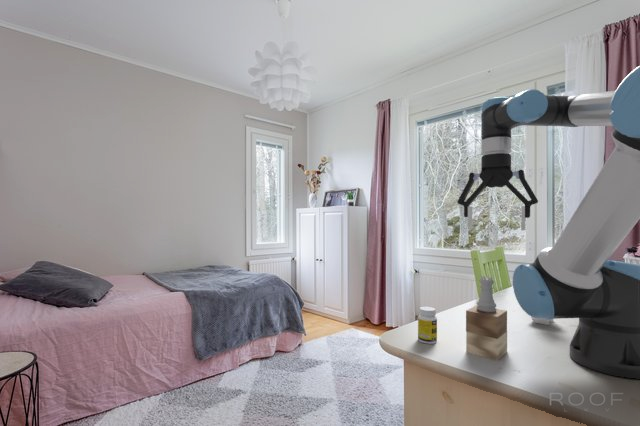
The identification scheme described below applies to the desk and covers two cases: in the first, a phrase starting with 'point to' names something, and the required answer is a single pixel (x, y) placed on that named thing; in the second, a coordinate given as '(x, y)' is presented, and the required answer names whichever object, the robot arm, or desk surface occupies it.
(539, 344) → the desk surface
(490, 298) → the rook chess piece
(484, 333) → the walnut block
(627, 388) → the desk surface
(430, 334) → the supplement bottle
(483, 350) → the beech block
